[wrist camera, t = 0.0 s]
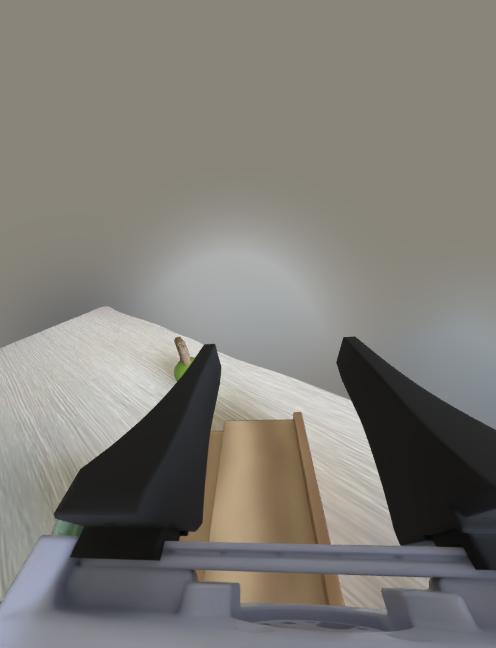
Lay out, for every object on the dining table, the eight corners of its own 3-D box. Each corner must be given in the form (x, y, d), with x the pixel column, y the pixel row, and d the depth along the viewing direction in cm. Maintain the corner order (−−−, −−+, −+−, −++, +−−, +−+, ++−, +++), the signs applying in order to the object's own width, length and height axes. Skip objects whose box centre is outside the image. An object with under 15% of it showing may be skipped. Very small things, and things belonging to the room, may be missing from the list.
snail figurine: (184, 401, 35) (163, 350, 28) (175, 378, 39) (155, 330, 33) (212, 386, 37) (198, 336, 30) (200, 367, 42) (186, 320, 35)
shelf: (121, 651, 15) (74, 660, 12) (183, 440, 29) (170, 415, 25) (341, 666, 14) (361, 680, 11) (298, 438, 28) (301, 412, 24)
